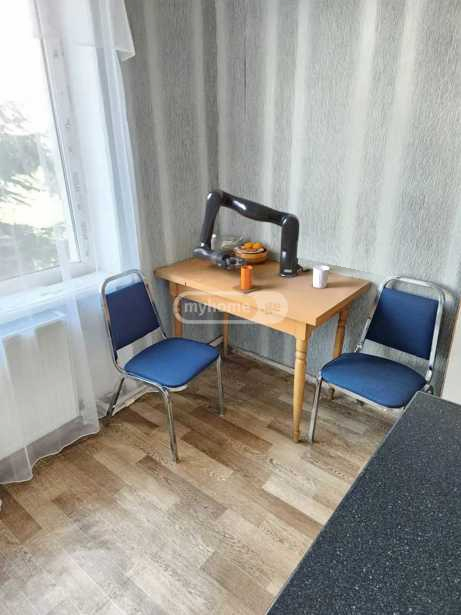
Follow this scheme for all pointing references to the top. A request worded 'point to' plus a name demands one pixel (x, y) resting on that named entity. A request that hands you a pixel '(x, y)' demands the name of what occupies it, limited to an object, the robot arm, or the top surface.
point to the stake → (234, 257)
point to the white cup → (320, 276)
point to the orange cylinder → (246, 277)
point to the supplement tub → (213, 243)
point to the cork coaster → (246, 290)
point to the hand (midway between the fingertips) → (240, 266)
